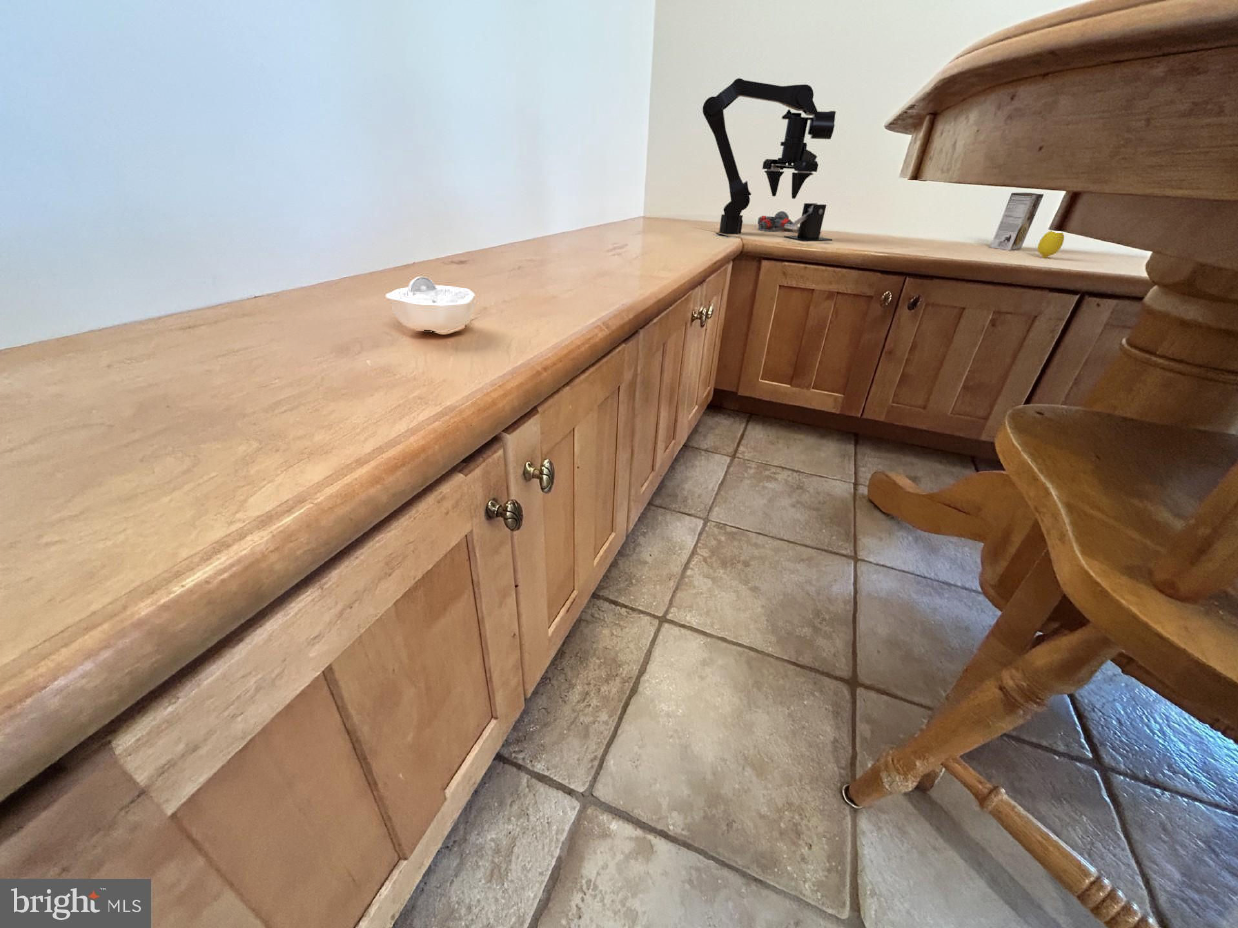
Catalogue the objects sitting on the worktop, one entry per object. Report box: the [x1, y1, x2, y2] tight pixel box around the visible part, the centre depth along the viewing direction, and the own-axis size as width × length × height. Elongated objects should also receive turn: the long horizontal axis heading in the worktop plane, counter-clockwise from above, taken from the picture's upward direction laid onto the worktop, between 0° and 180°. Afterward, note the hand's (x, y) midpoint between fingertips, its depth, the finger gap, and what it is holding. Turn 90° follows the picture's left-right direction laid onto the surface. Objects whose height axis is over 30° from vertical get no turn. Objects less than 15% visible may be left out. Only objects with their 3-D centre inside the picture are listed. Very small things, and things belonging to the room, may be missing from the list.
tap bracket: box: [783, 202, 833, 243], centre depth 157 cm, size 12×9×11 cm
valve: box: [757, 210, 822, 235], centre depth 175 cm, size 6×26×15 cm
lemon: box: [1037, 230, 1065, 259], centre depth 147 cm, size 6×6×8 cm
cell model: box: [385, 276, 476, 336], centre depth 65 cm, size 10×12×7 cm
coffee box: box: [989, 192, 1044, 251], centre depth 161 cm, size 9×6×16 cm
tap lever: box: [785, 205, 813, 231], centre depth 155 cm, size 11×5×2 cm
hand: (783, 197), depth 156 cm, fingers open, 9 cm apart
